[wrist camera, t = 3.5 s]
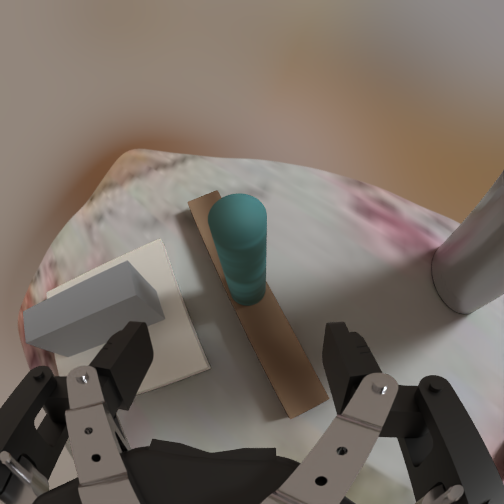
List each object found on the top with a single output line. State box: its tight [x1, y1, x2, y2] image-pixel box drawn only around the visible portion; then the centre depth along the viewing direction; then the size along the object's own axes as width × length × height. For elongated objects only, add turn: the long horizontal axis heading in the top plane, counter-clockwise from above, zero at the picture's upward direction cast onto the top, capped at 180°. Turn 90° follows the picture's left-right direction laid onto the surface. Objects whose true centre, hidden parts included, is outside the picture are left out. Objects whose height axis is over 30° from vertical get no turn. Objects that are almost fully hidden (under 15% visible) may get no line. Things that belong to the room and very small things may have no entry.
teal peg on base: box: [188, 190, 329, 419], centre depth 20 cm, size 4×24×13 cm, turn 25°
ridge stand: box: [23, 239, 211, 395], centre depth 21 cm, size 16×14×8 cm
